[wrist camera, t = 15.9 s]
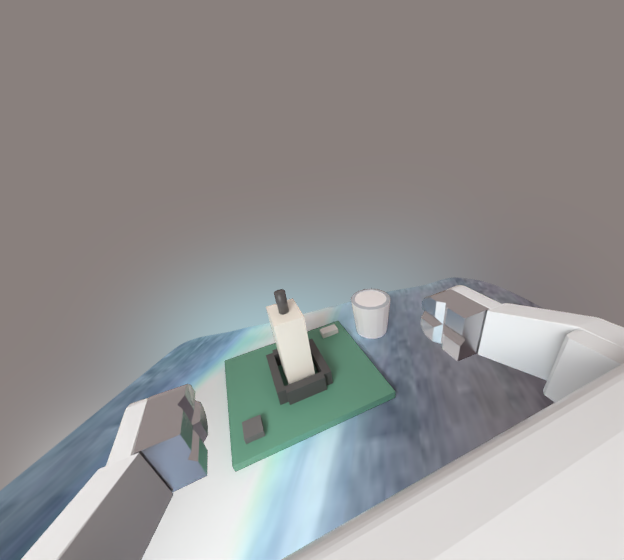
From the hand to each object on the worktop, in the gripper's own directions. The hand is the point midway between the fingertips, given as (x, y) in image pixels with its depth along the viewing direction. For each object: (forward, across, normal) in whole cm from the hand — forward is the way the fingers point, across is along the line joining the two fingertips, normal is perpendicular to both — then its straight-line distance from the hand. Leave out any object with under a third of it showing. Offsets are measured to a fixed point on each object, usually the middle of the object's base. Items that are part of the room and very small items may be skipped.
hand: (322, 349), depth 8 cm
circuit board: (+22, -2, +26) cm, 34 cm away
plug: (+22, -2, +25) cm, 33 cm away
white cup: (+27, -18, +26) cm, 42 cm away
